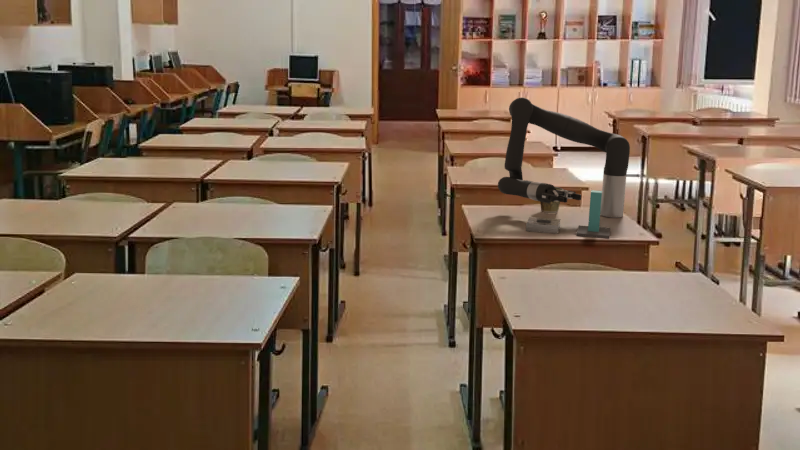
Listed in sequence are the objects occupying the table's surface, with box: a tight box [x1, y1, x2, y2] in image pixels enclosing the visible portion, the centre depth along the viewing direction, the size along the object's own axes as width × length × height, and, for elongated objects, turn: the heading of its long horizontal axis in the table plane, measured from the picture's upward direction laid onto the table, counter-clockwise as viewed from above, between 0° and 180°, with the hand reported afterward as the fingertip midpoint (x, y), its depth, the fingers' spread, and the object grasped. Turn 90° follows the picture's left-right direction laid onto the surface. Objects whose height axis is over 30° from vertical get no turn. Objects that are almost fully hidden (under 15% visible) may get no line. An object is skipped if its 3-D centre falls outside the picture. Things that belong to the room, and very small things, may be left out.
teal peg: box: [587, 189, 602, 232], centre depth 352 cm, size 4×4×15 cm
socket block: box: [525, 216, 562, 234], centre depth 358 cm, size 12×12×3 cm
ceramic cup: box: [539, 186, 564, 214], centre depth 390 cm, size 13×10×10 cm
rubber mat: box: [576, 225, 611, 239], centre depth 354 cm, size 14×12×1 cm
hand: (573, 198), depth 359 cm, fingers open, 8 cm apart
